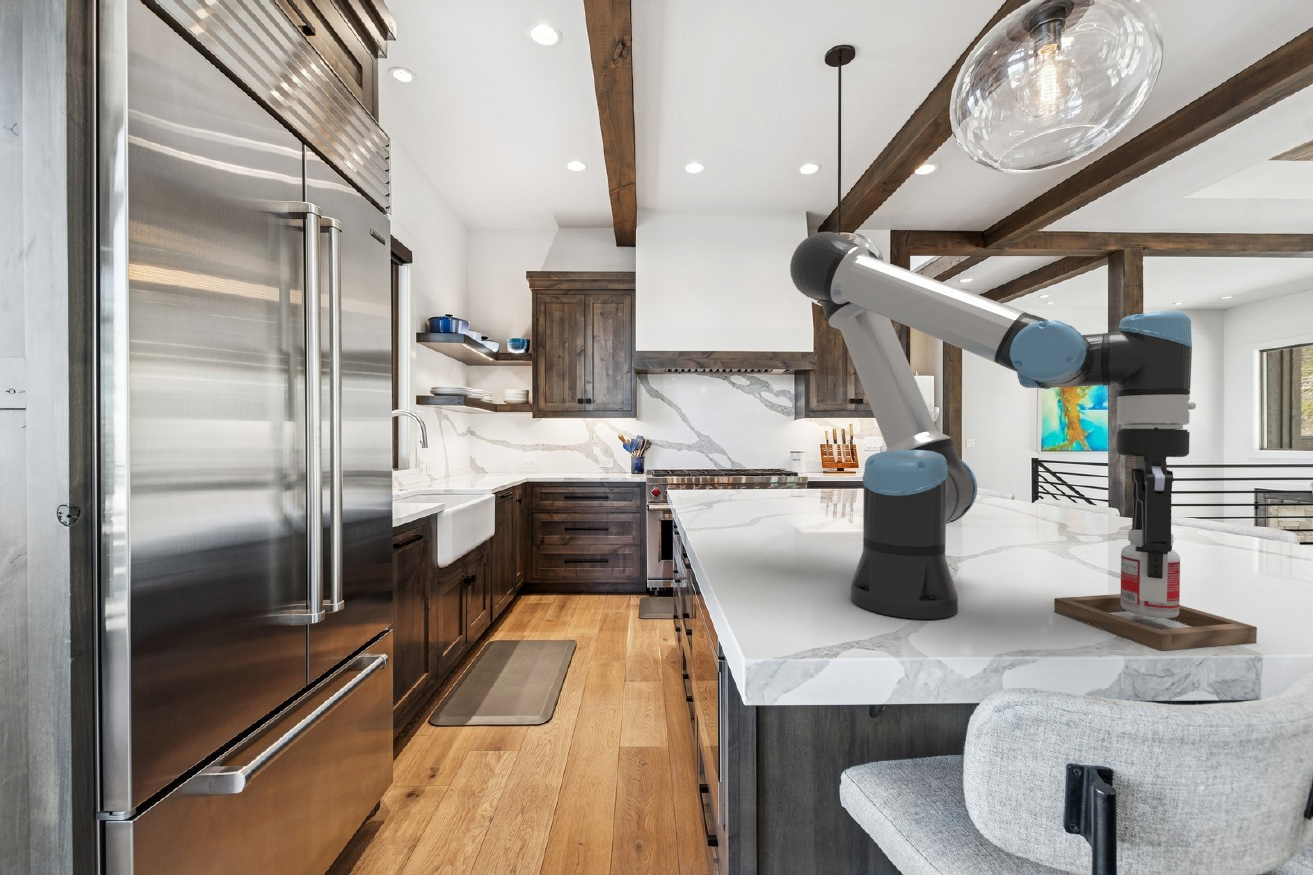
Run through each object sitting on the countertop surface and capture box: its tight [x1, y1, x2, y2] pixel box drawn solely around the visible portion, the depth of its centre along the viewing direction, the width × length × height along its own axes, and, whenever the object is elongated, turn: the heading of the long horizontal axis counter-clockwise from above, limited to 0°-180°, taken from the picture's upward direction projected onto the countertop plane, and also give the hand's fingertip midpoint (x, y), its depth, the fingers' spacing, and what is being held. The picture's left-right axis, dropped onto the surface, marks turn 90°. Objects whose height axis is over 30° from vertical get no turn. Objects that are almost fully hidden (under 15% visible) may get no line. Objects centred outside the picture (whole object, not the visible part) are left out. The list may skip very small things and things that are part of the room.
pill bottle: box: [1120, 529, 1181, 619], centre depth 79 cm, size 6×6×11 cm
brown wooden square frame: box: [1053, 593, 1258, 651], centre depth 79 cm, size 15×15×2 cm
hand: (1148, 594), depth 79 cm, fingers closed on pill bottle, 6 cm apart
